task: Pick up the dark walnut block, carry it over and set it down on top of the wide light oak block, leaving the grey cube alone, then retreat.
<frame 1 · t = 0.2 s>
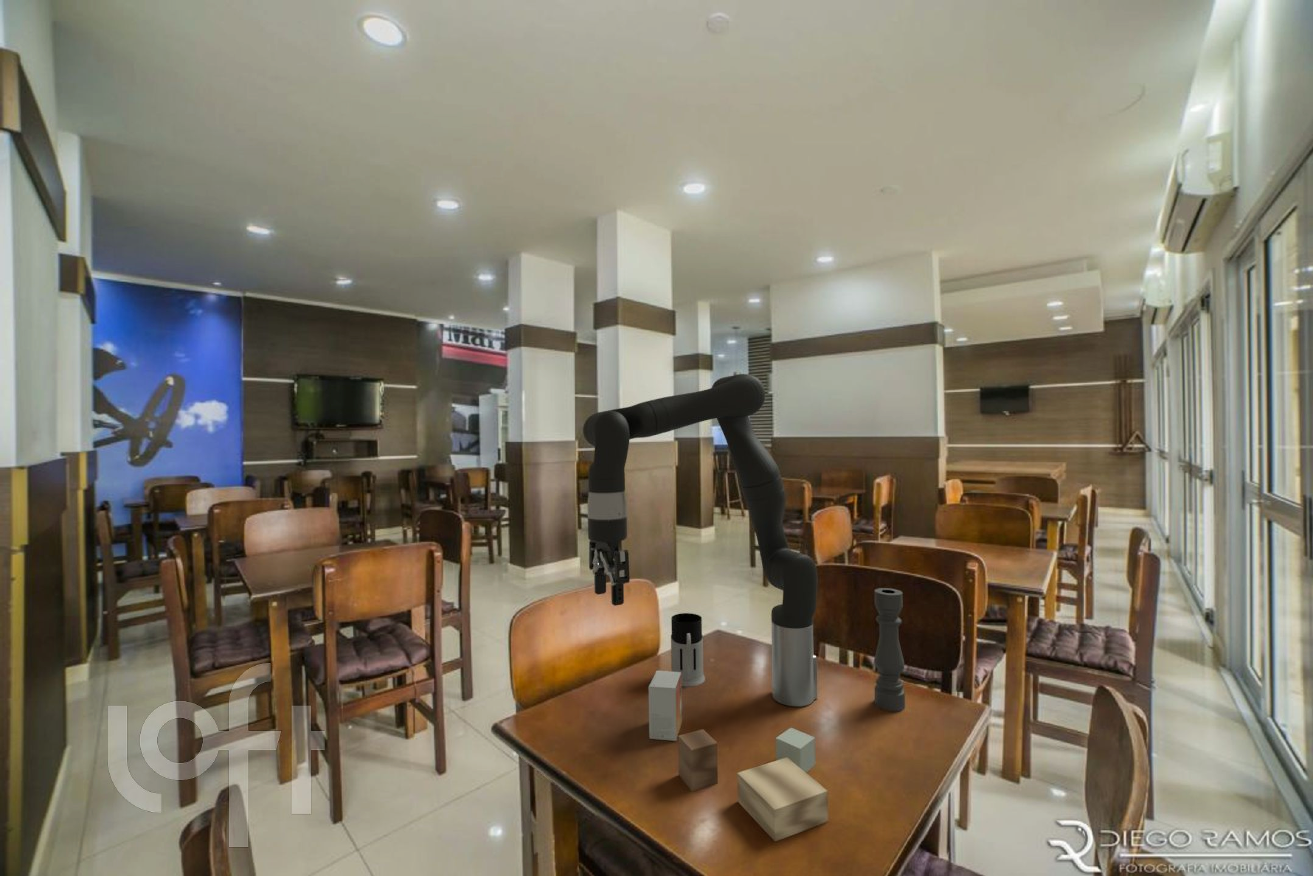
hand: (608, 598, 107), 29 cm above the table, fingers open, 8 cm apart
grey cube: (795, 765, 101), on the table
candle holder: (889, 705, 123), on the table
oak block: (781, 813, 88), on the table
small box: (666, 731, 113), on the table
walnut block: (698, 779, 97), on the table
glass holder: (688, 684, 134), on the table
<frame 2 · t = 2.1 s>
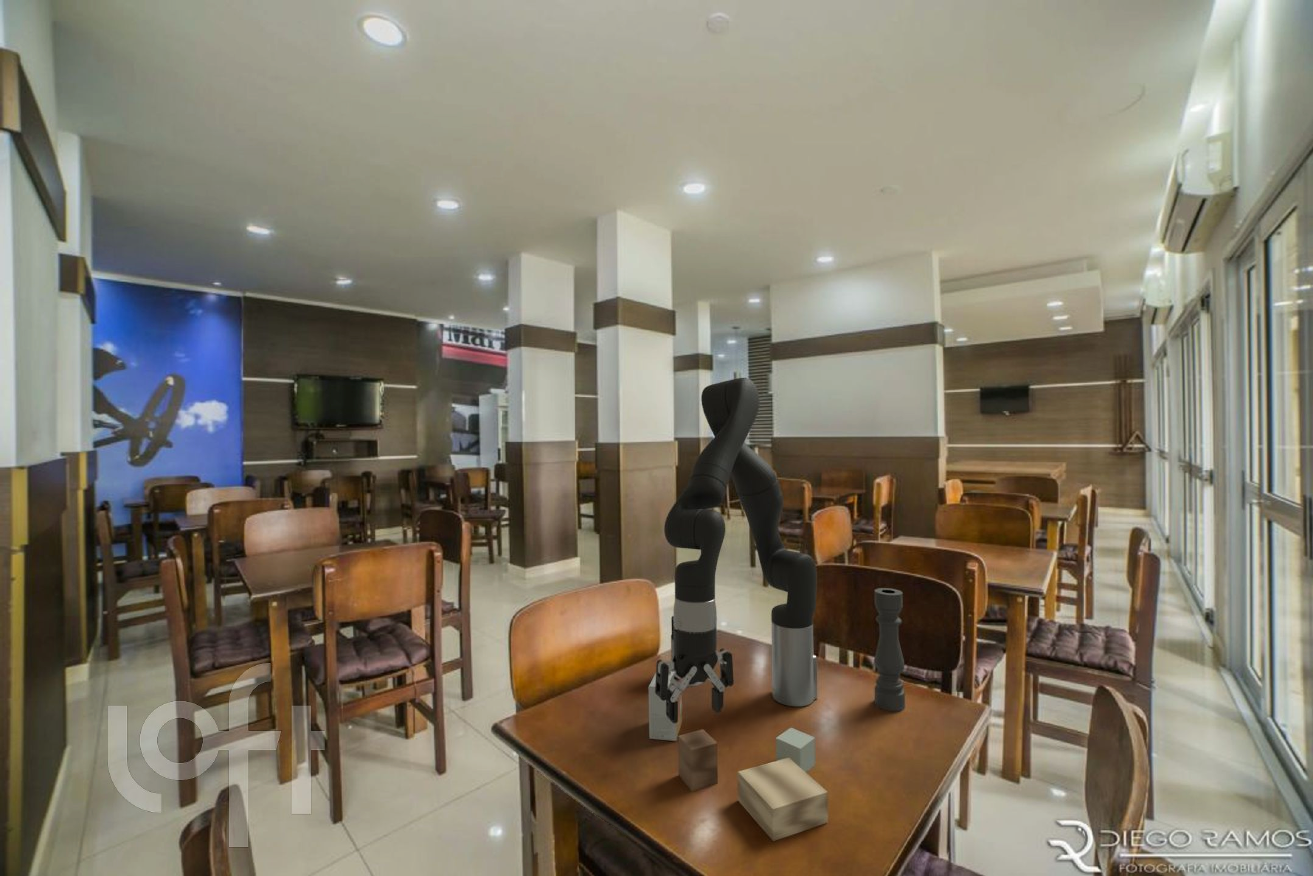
hand: (695, 716, 97), 11 cm above the table, fingers open, 8 cm apart
nothing on the table moved.
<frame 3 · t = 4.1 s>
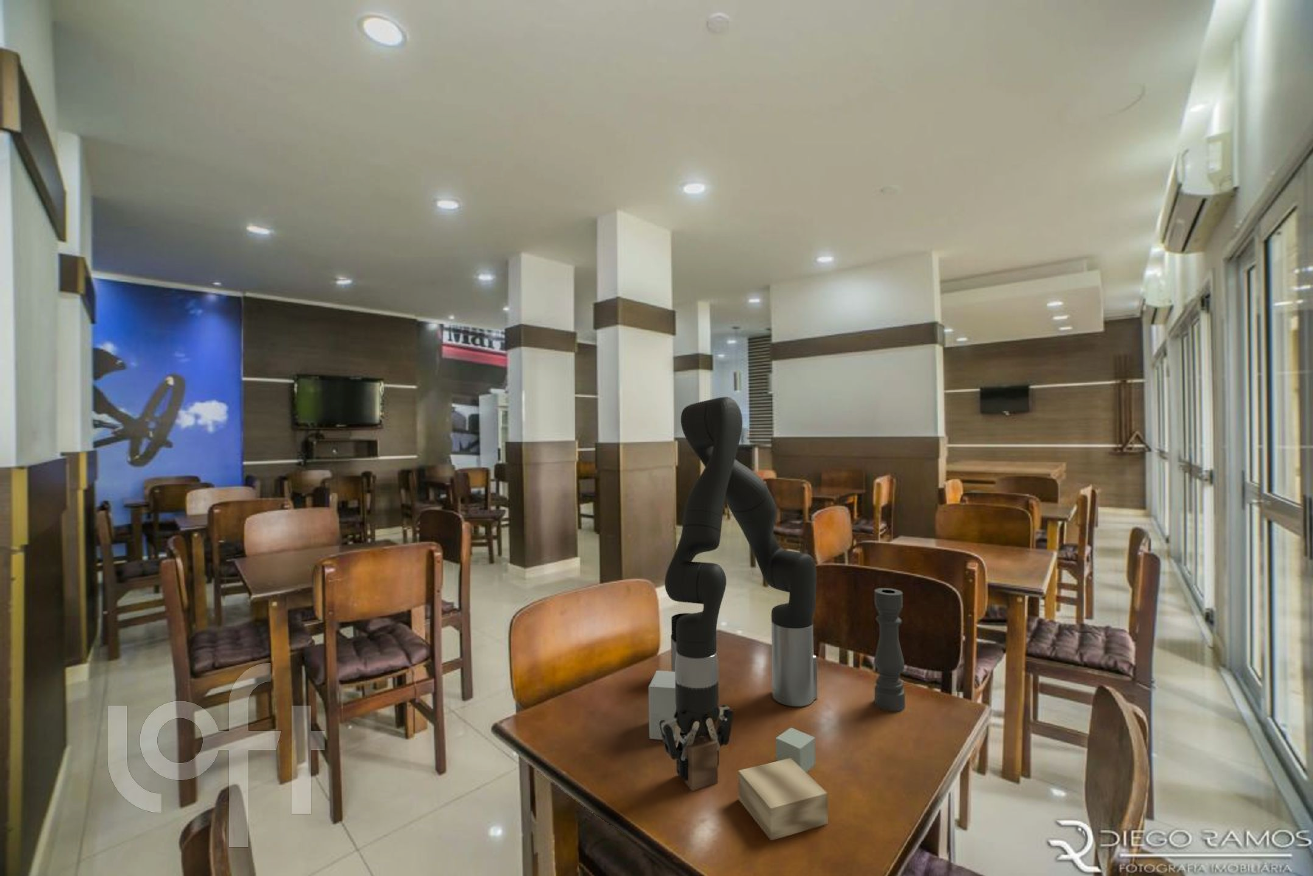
hand: (697, 773, 97), 1 cm above the table, fingers closed on walnut block, 5 cm apart
walnut block: (698, 778, 97), on the table, touching gripper
everything else where it was.
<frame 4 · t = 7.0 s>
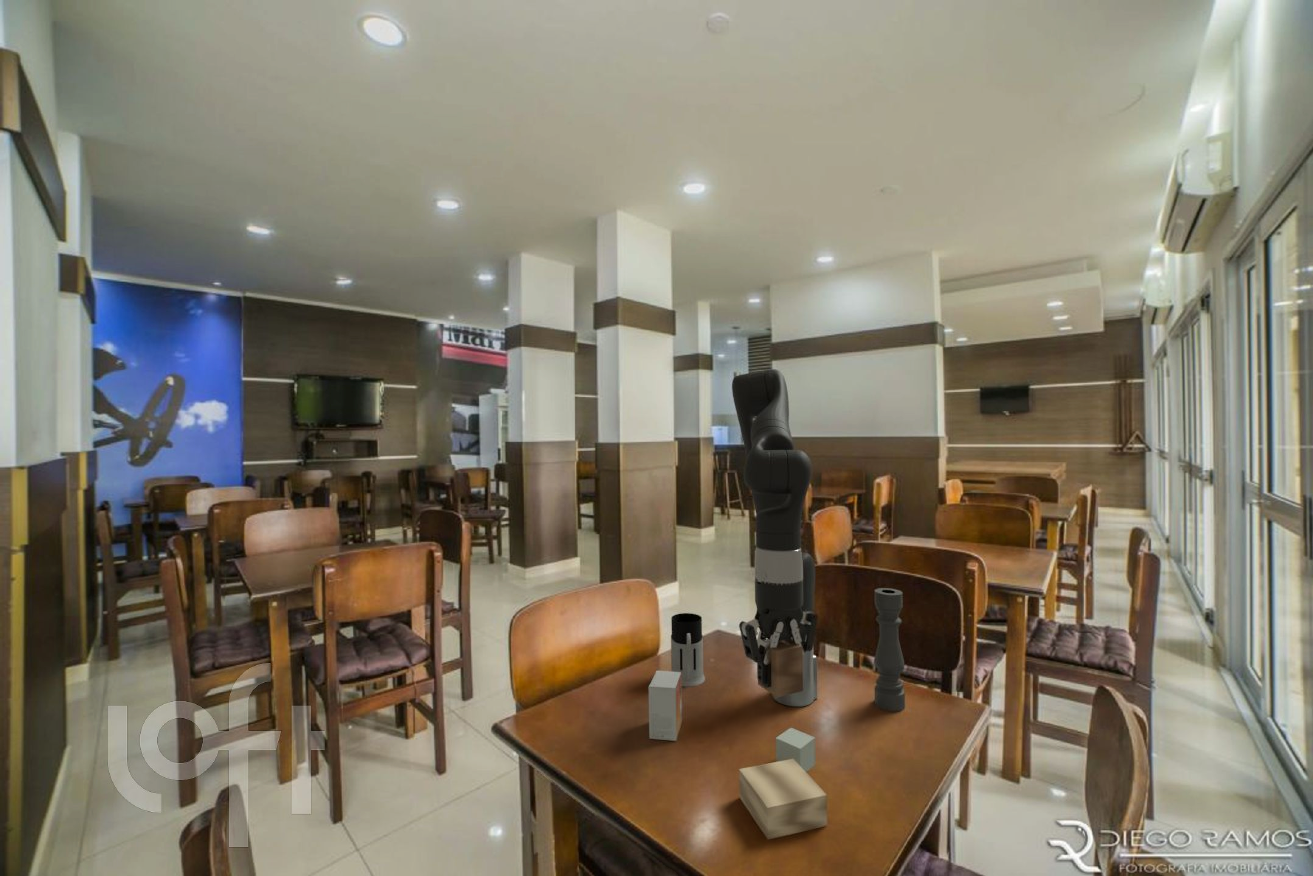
hand: (779, 681, 88), 21 cm above the table, fingers closed on walnut block, 5 cm apart
walnut block: (780, 687, 88), point 20 cm above the table, touching gripper
everything else where it was.
when the fingers open (7 cm above the table, at t = 10.1 s): walnut block drops 2 cm, resting on oak block.
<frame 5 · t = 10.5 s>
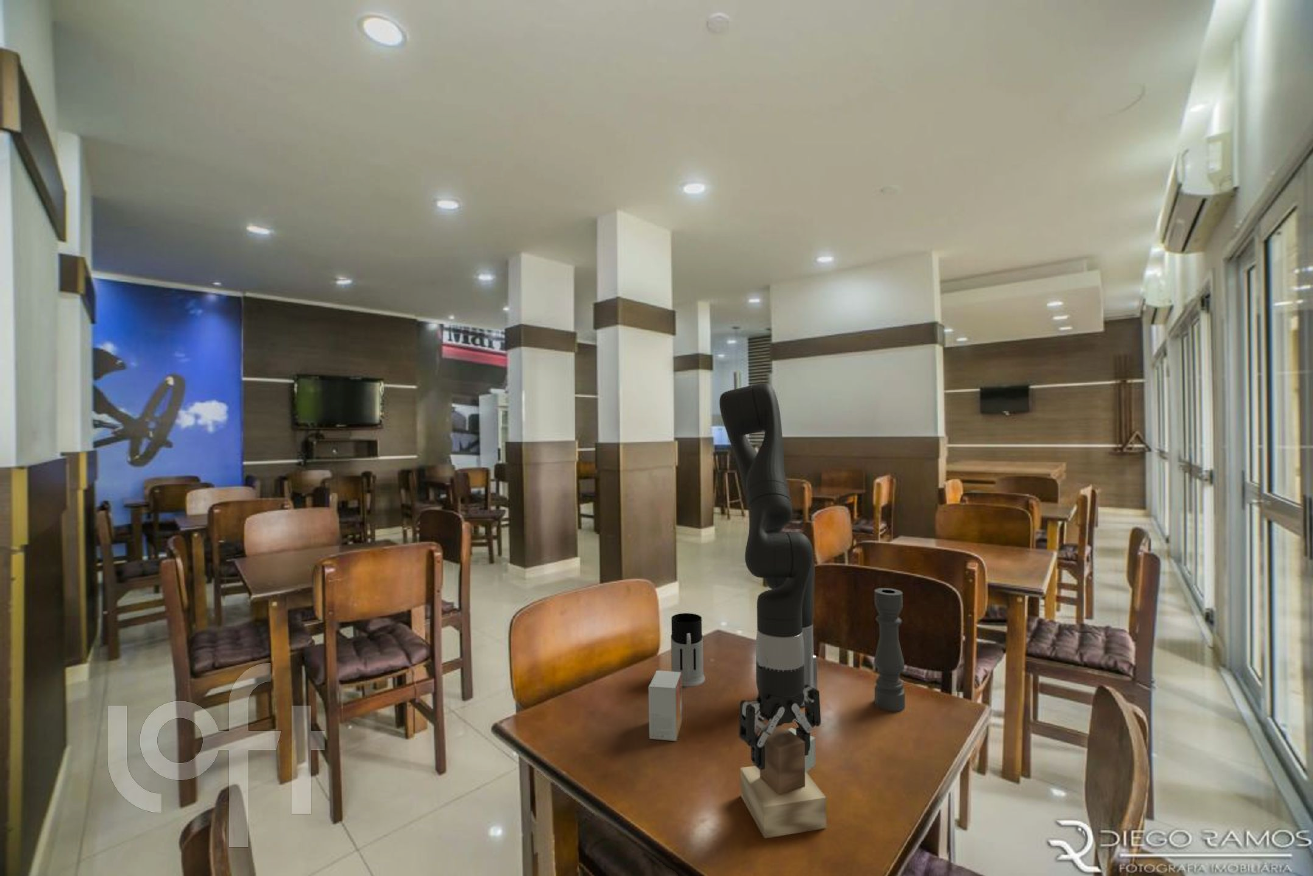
hand: (781, 760, 88), 8 cm above the table, fingers open, 8 cm apart
oak block: (781, 813, 88), on the table, touching walnut block
walnut block: (782, 781, 88), point 5 cm above the table, touching oak block
everything else where it was.
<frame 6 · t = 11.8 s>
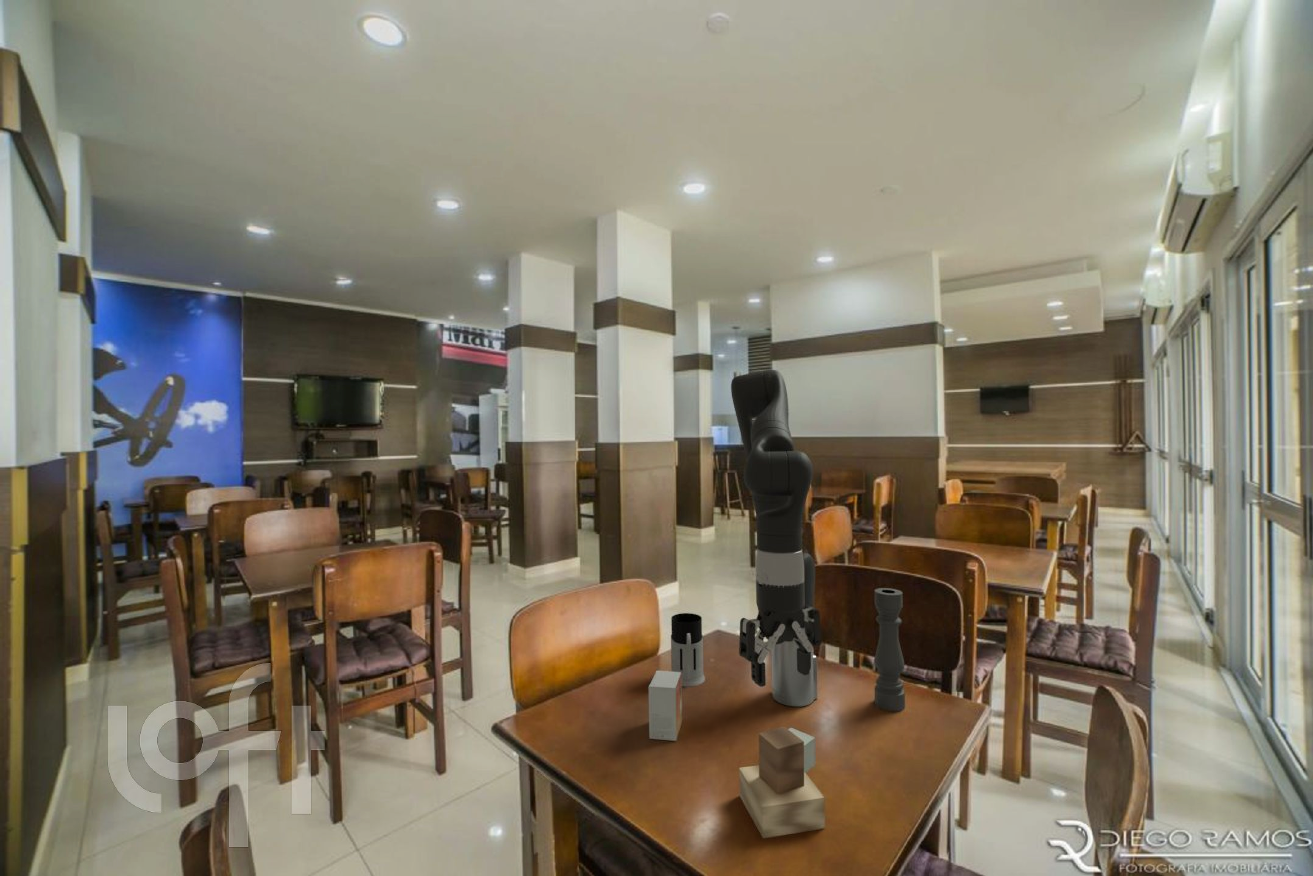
hand: (781, 678, 88), 21 cm above the table, fingers open, 8 cm apart
nothing on the table moved.
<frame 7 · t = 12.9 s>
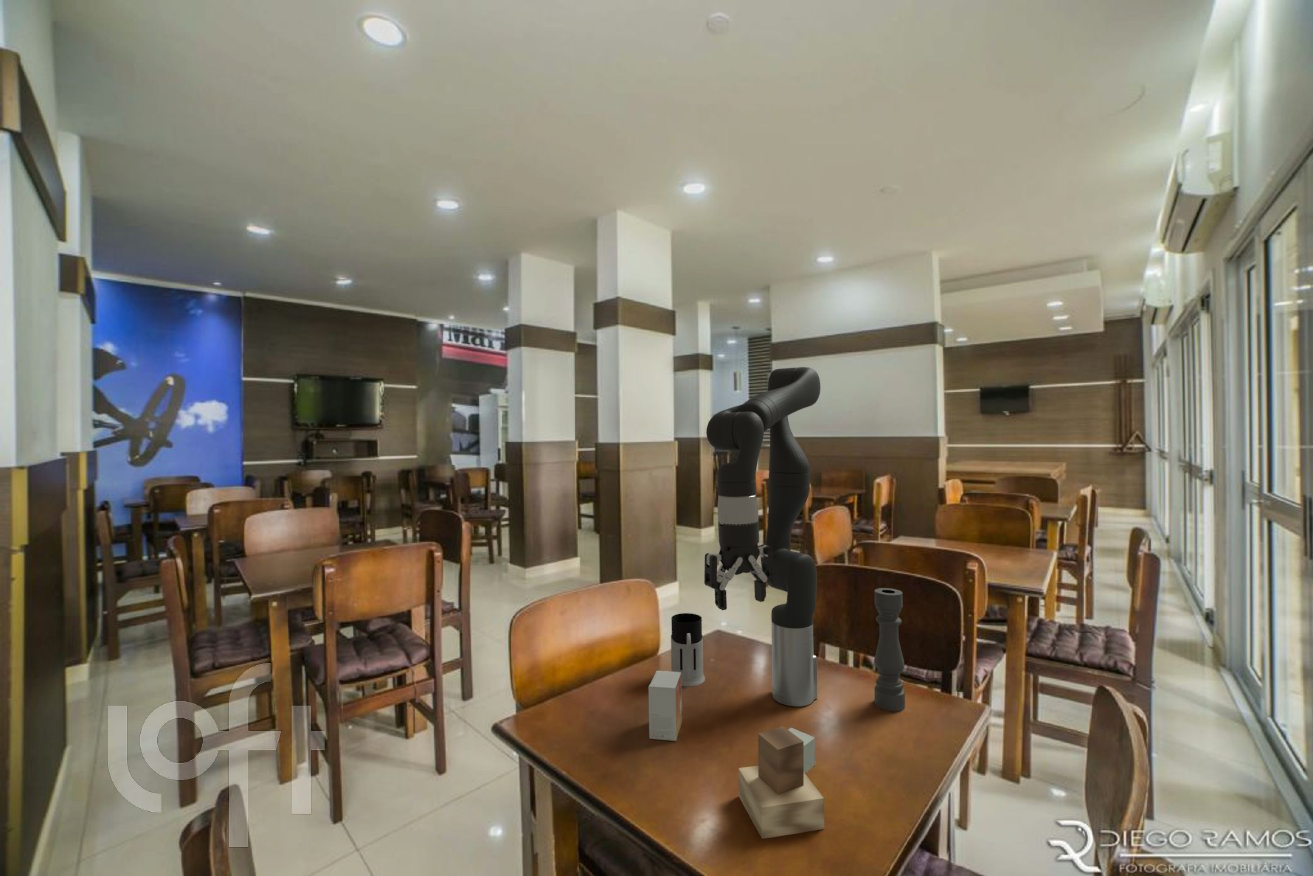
hand: (741, 604, 104), 28 cm above the table, fingers open, 8 cm apart
nothing on the table moved.
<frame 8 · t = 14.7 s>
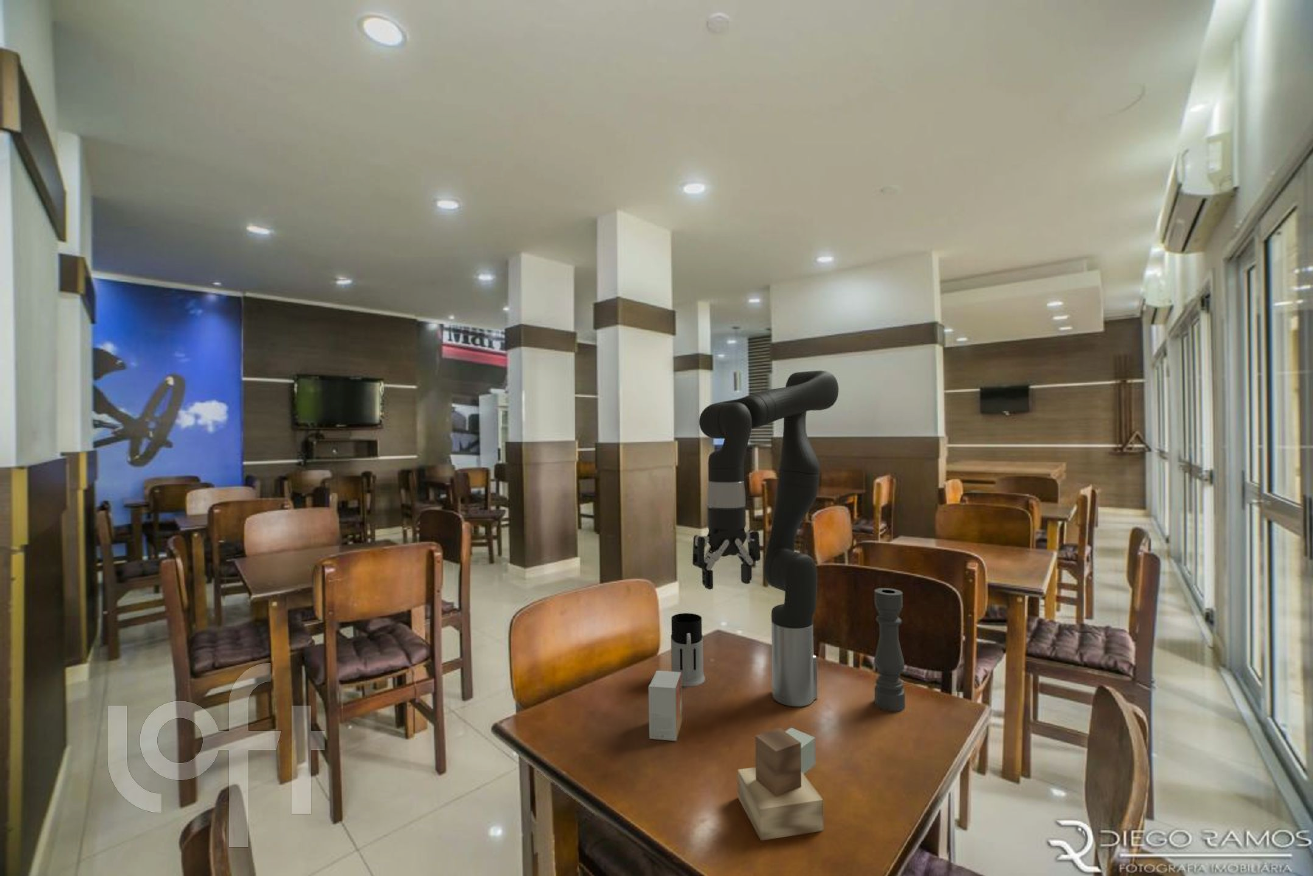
hand: (727, 585, 110), 30 cm above the table, fingers open, 8 cm apart
nothing on the table moved.
at the end: walnut block inside the target area on the oak block (0.2 cm from its centre), point 5.0 cm above the oak block's base; walnut block tilted 0°; the gripper is holding nothing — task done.
